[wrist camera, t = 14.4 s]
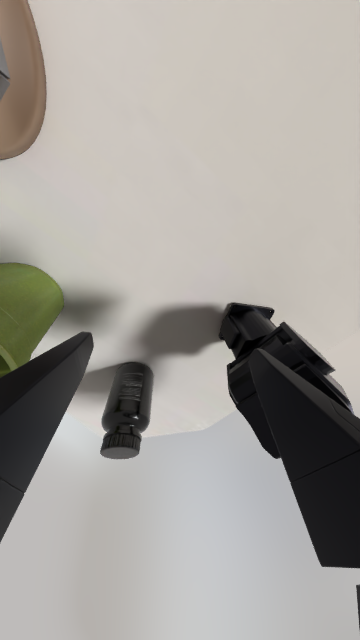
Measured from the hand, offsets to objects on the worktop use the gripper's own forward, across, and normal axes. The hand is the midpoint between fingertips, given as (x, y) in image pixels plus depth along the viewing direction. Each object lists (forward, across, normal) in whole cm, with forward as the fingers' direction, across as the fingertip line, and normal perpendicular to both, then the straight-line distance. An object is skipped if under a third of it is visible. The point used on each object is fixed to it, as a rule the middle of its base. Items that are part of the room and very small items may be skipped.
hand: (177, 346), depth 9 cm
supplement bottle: (+13, +4, +20) cm, 24 cm away
